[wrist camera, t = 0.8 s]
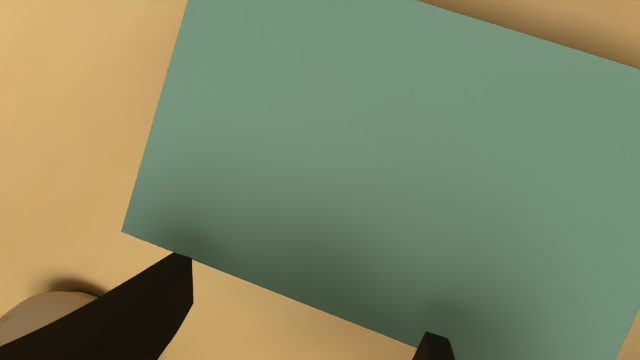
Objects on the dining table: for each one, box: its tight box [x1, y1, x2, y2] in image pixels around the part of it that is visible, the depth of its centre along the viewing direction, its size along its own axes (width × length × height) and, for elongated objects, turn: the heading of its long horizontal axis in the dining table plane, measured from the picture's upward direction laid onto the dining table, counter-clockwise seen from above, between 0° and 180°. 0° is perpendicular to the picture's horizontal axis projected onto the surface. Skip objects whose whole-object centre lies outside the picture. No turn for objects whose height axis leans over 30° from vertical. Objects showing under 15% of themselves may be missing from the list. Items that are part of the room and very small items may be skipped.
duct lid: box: [121, 0, 640, 360], centre depth 12 cm, size 16×10×1 cm, turn 75°
